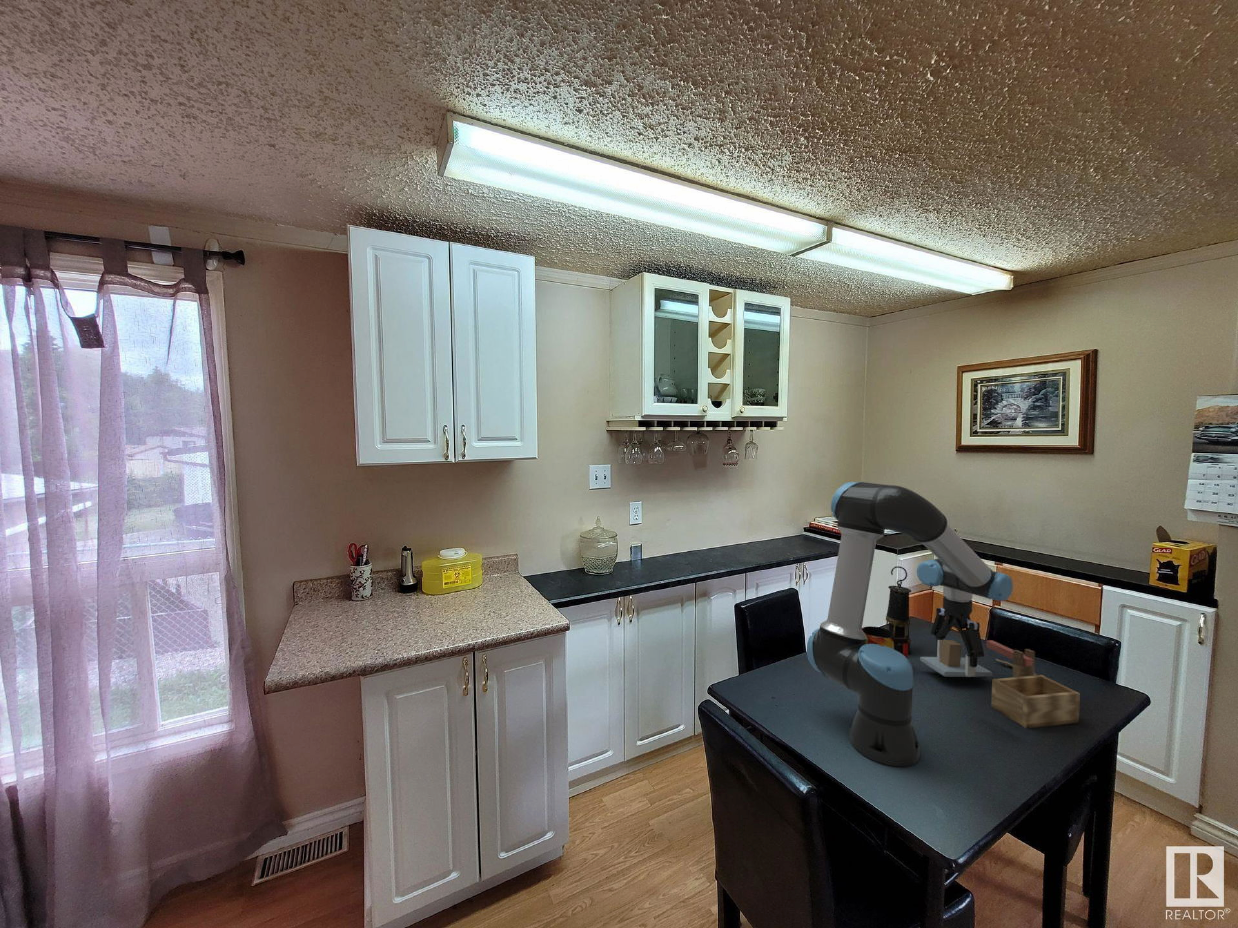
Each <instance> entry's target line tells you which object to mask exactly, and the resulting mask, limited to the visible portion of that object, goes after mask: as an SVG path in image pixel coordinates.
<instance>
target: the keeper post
mask: <svg viewBox="0 0 1238 928" xmlns="http://www.w3.org/2000/svg"><path fill="white" fill-rule="evenodd" d="M1012 650H1013V660H1012V664H1013V667H1012V677H1024V676H1034V671H1035V662H1036V660H1035V659H1036V658H1035V657H1036V651H1034V650H1031V649H1030V648H1024V652H1023V651H1020V650H1018V649H1012ZM1024 655H1025V656H1027V657H1029V658H1032V659H1033V666H1025V665H1023V657H1024ZM1012 677H1011V678H1012Z"/></svg>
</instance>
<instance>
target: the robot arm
mask: <svg viewBox="0 0 1238 928" xmlns="http://www.w3.org/2000/svg"><path fill="white" fill-rule="evenodd" d="M830 511H831V513H832V514H831V515H832V516H833V517H834V519H835V520H836V521H837V525H836V528H837V530H838V531H839V532H840V534H841V537H840V542H839V548H838V554H837V560H836V566H835V572H834V577H833V584H832V591H831V595H830V600H829V601H830V603H829V606H828V607H829V608H828V613H827V617H826V620H825V621H823V622H821V623H820V624H819V628H817V629H815V630H813V631H812V633H811V634H812V635H809V637H808V640H807V643H806V656H807V659H808V662H809V664H810V665H811V667H813V669H814V670H816V671H817V672H819V673H820V674H821V675H822V676H824V677H825V678H827V679H830V680H832V681H834V682H835V683H837V684H839V685H841V686H842V687H845V688H846V689H847V690H848V689H849V690H850V691H852V692H854V693H855V694H857V711H856V713H855V716H854V719H853V722H852V723H851V724H850V728H849V741H850V743H851V745H852V746H853V748H854V749H856V751H858V752H859V754H861V755H862V756H864V757H867V759H870V760H872V761H875V762H876V763H879V764H883V765H886V766H892V767H909V766H913V765H915V764H916V763H918V762H919V760H920V756H921V755H920V753H921V752H920V751H921V750H920V743H919V741H918V740H919V739H918V738H917V734H916V731H915V728H914V725H913V700H914V698H913V697H914V695H913V693H914V684H915V680H914V670H913V669H914V668H913V666H912V664H911V663H912V662H911V661H910V660H909V659H907V658H906V657H905V656H904V655H903V654H901V653H900V652H898V651H896V650H894V649H892V648H889V647H886V646H884V647H883V646H881V645H878V644H866V639H867V636H866V635H865V633H864V632H863V631H862V628H863V625H864V623H863V622H864V617H865V611H866V606H867V605H866V604H867V600H868V599H867V598H868V593H869V589H870V588H869V587H870V581H871V576H872V570H873V563H874V559H875V550H876V547H877V546H876V545H877V542H878V540H879V539H882V538H883V537H884V536H885V530H887V531H891V532H892V531H893V532H897V533H900V534H903V535H906V536H908V537H909V538H910V539H911V540H912V541H914V542H916V543H918V544H919V543H920V544H922V545H923V546H924V547H925V548H926V549H928V550H929V551H930V552H931V553H932V554H933V555H934V556H935V557H936V558H934V559H933V558H932V559H927V560H924V561H921V563H919V564H918V565H917V567H916V575H917V578H918V580H919V581H920V582H921V583H922V584H924V585H926V586H928V587H939V586H942V587H943V589H942V594H943V596H942V607H936V608H935V609H936V610H935V611H936V613H935V618H934V621H933V624H932V627H931V630H930V634H931V636H934V637H935V639H936V641H935V642H936V644H935V645H936V646H935V647H936V649H937V650H936V654H937V655H936V657H940V649H941V640H946V639H947V635H948V634H949V633H950V631H951V629H952V628H953V627H954V628H955V629H956V630H957V632H958V633H959V634H960V636H961V638H962V642H963V644H964V646H965V649H966V651H967V654H965V658H966V666H965V676H967V677H966V678H972V677H971V676H975V667H977V664H978V658H983V657H985V652H984V647H983V642H982V637H981V632H980V626H981V624H980V623H979V622H978V621H977V622H976V621H973V620H971V617H970V615H971V614H972V612H973V601H972V600H973V596H974V595H976V596H979V597H983V598H986V599H988V600H995V601H999V602H1004V601H1007V600H1008V599H1009V598H1010V597H1011V595H1012V593H1013V588H1014V583H1013V580H1012V578H1011V577H1010V575H1008V574H1006V573H1003V572H1000V571H994V570H992V569H991V568H990V567H989V566H988V564H986V563H985V561H983V560H982V558H981V557H979V556H978V554H977V553H976V552H975V551H974V550H973V549H972V548H971V547H970V546H969V545H968V544H967V543H966V542H965V541H964V540H963V539H962V538H961V537H960V535H958V534H957V533H956V532H955V531H954V529H952V527H950V526H949V523H948V519H947V517H946V516H945V514H943V512H942V511H940V509H939V508H937V507H936V506H935V505H934V504H933V503H932V502H931V501H929V500H928V499H926V498H925V497H924V496H922V495H920V494H919V493H917V492H915V491H913V490H911V489H909V488H907V487H905V486H902V485H901V486H900V485H896V484H895V485H893V484H892V485H890V484H881V483H873V482H864V481H855V482H854V481H851V482H849V481H848V482H846V483H843V484H842V485H841V486H840V487H838V488H837V489H836V491H835V492H834V493H833V496H832V499H831V501H830Z"/></svg>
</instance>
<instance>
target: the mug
mask: <svg viewBox="0 0 1238 928" xmlns="http://www.w3.org/2000/svg"><path fill="white" fill-rule="evenodd" d="M862 631H863V632H864V633H865V635H866V636H867V639H866V644H878V645H881V646H883V647H884V646H886V647H889V648H892V649H894V644H903V655H904V656H905V657H906V658H907V659H908V657H909V655H908V654H907V653H908V639H907V638H894V634H893V632H891V631H889V629H888V628H887V629H886V628H883V627H881V626H872V625H871V626H862ZM908 660H909V659H908Z"/></svg>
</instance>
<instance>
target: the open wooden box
mask: <svg viewBox="0 0 1238 928" xmlns="http://www.w3.org/2000/svg"><path fill="white" fill-rule="evenodd" d="M991 682H992V683H991V684H992V685H991V706H990V707H991V708H992V709H994V710H996V711H997V712H999V713H1001V714H1002V715H1004V716H1006V717H1007V718H1009V719H1010V720H1012V721H1014V722H1015V723H1017V724H1019V725H1020V726H1022V727H1023V728H1025V729H1032V728H1040V727H1041V728H1042V727H1051V726H1059V725H1068V724H1076V723H1077V724H1078V723H1080V722H1079V719H1080V699H1081V698H1080V697H1081V693H1080V692H1077V691H1076V690H1074V689H1072V688H1070V687H1068V686H1066V685H1063V684H1062V683H1060V682H1057V681H1056V680H1053V679H1051V678H1049V677H1047V676H1045V675H1043V674H1037V675H1035V676H1024V677H1004V678H1003V677H1002V678H993V679H992V681H991Z"/></svg>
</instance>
